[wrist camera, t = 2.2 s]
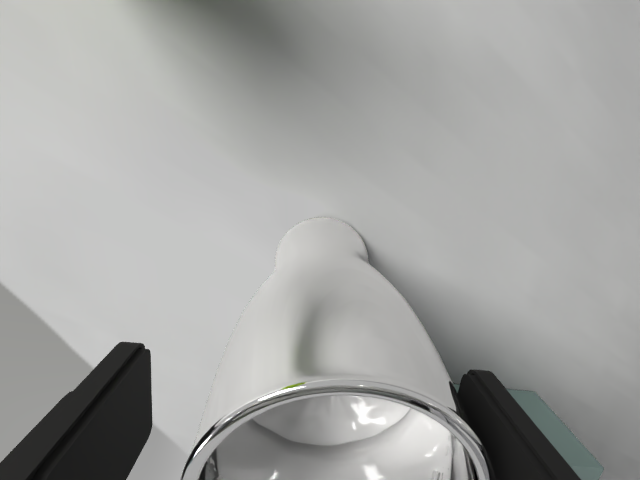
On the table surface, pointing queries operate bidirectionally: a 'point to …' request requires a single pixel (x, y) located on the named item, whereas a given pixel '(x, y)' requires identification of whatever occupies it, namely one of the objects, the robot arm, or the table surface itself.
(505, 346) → the table surface
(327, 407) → the beer glass
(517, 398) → the box
